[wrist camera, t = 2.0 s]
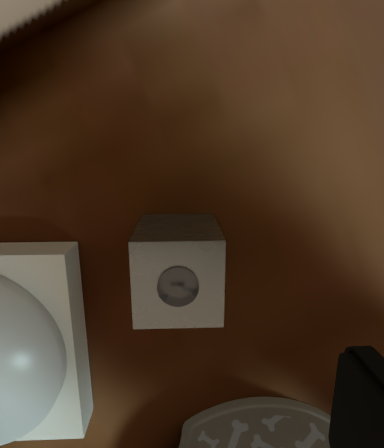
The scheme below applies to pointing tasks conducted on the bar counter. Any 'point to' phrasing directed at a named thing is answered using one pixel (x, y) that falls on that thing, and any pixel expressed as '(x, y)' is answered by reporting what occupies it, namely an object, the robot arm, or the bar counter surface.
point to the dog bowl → (258, 425)
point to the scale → (42, 343)
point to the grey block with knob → (177, 271)
